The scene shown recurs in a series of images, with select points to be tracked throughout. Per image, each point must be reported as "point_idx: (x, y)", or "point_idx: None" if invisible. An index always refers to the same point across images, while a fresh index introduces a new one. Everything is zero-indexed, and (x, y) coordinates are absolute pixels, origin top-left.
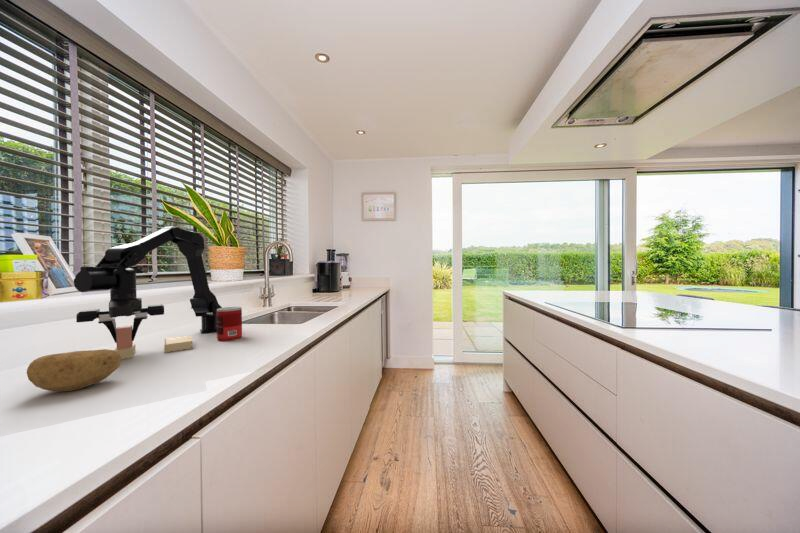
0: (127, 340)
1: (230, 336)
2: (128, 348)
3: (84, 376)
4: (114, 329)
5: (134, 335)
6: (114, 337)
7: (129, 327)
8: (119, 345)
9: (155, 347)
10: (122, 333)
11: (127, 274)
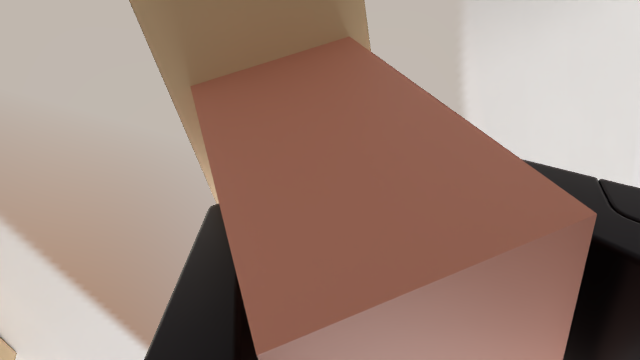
0: (259, 120)
1: None
2: (203, 24)
3: None
4: (602, 231)
5: (199, 259)
6: None
7: (298, 332)
8: (339, 59)
9: (101, 327)
10: (389, 176)
11: None
